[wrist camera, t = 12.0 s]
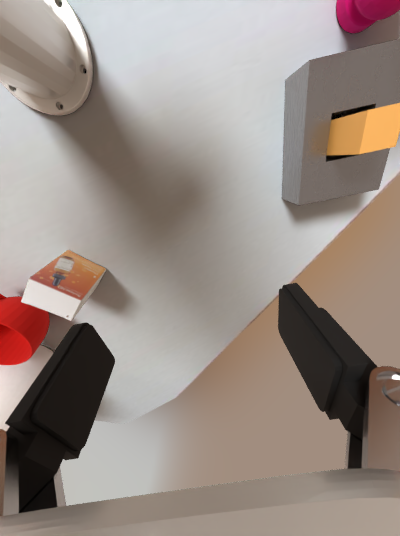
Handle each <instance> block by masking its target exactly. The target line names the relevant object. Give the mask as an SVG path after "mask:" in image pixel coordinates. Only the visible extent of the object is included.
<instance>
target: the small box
mask: <svg viewBox="0 0 400 536" xmlns="http://www.w3.org/2000/svg"><path fill="white" fill-rule="evenodd" d="M105 271H106V268H103V267H101V266H99V265H97V264H95V263H93V262H91V261H89V260H87V259H85V258H83V257H81V256H79V255H77V254H75V253H73V252H72V251H70V250H67V251H66V252H64V253H63V254H61V255H60V256H59V257H57V258H56V259H55V260H53V261H52V262H50V263H49V264H48V265H46V266H45V267H44V268H42V269H41V270H40V271H38V272H37V273H35V274H34V275H33V276H31V277H30V278H29V280H28V283H27V286H26V289H25V291H24V294H23V297H22V300H21V302H22V303H25V304H29V305H32V306H34V307H37V308H40V309H42V310H45V311H48V312H50V313H53V314H55V315H58V316H60V317H63V318H65V319H67V320H70V321H72V320H73V318H74V317H75V316H76V314H77V313H78V312H79V310H80V309H81V308H82V306H83V305H84V303H85V302H86V301H87V299H88V298H89V297H90V295H91V294H92V293H93V291H94V290H95V289H96V287H97V286H98V284H99V282H100V280H101V278H102V277H103V275H104V273H105Z"/></svg>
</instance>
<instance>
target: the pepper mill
mask: <svg viewBox="0 0 400 536" xmlns="http://www.w3.org/2000/svg"><path fill="white" fill-rule="evenodd" d="M399 10H400V0H337V5H336V11H337V18H338V21H339V24H340V26H341V27H342V28H343V30H345V31H346V32H349V33H358V32H361V31H363V30H365V29H366V28H368V27H369V26H370V25H372V24H373V23H374V22H376V21H377V20H382V19H385V18H387V17H389V16H391V15H393V14H395V13H396V12H398V11H399Z"/></svg>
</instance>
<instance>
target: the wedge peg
mask: <svg viewBox="0 0 400 536" xmlns="http://www.w3.org/2000/svg"><path fill="white" fill-rule="evenodd" d="M399 132H400V103H397V104H392V105H388V106H384V107H379V108H375V109H371V110H367V111H363V112H359V113H356V114H352V115H348V116H345V117H341V118H338V119H334V120H331V124H330V131H329V139H328V147H327V154H326V155H356V154H363V153H368V152H372V151H377V150H382V149H386V148H391V147H395V146H396V143H397V139H398V135H399Z"/></svg>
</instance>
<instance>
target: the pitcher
mask: <svg viewBox="0 0 400 536" xmlns="http://www.w3.org/2000/svg"><path fill="white" fill-rule="evenodd" d="M53 353H54V352H53V351H51V350H50V349H48V348H46V347H44V346H42V345H40V346H39V347H38V349H37V350H36V351H35V353H34V354H33V355H32V357H31V358H30V359H28V360H27V361H26V362H23V363H21V364H17V365H0V429H3V430H5V431H7V430H8V428H9V427H10V426H8V425H7V424H5V422H6V421H7V419H8V418H9V416H10V415H11V414H12V412H13V411H14V409H15V408H16V406H17V405H18V404H19V402H20V401H21V399H22V398H23V396H24V395H25V393H26V392H27V391H28V389H29V388H30V386H31V385H32V383H33V382H34V380H35V379H36V378H37V376H38V375H39V373H40V372H41V370H42V369H43V367H44V366H45V365H46V363H47V362H48V360H49V359H50V357H51V356H52V354H53Z"/></svg>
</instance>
